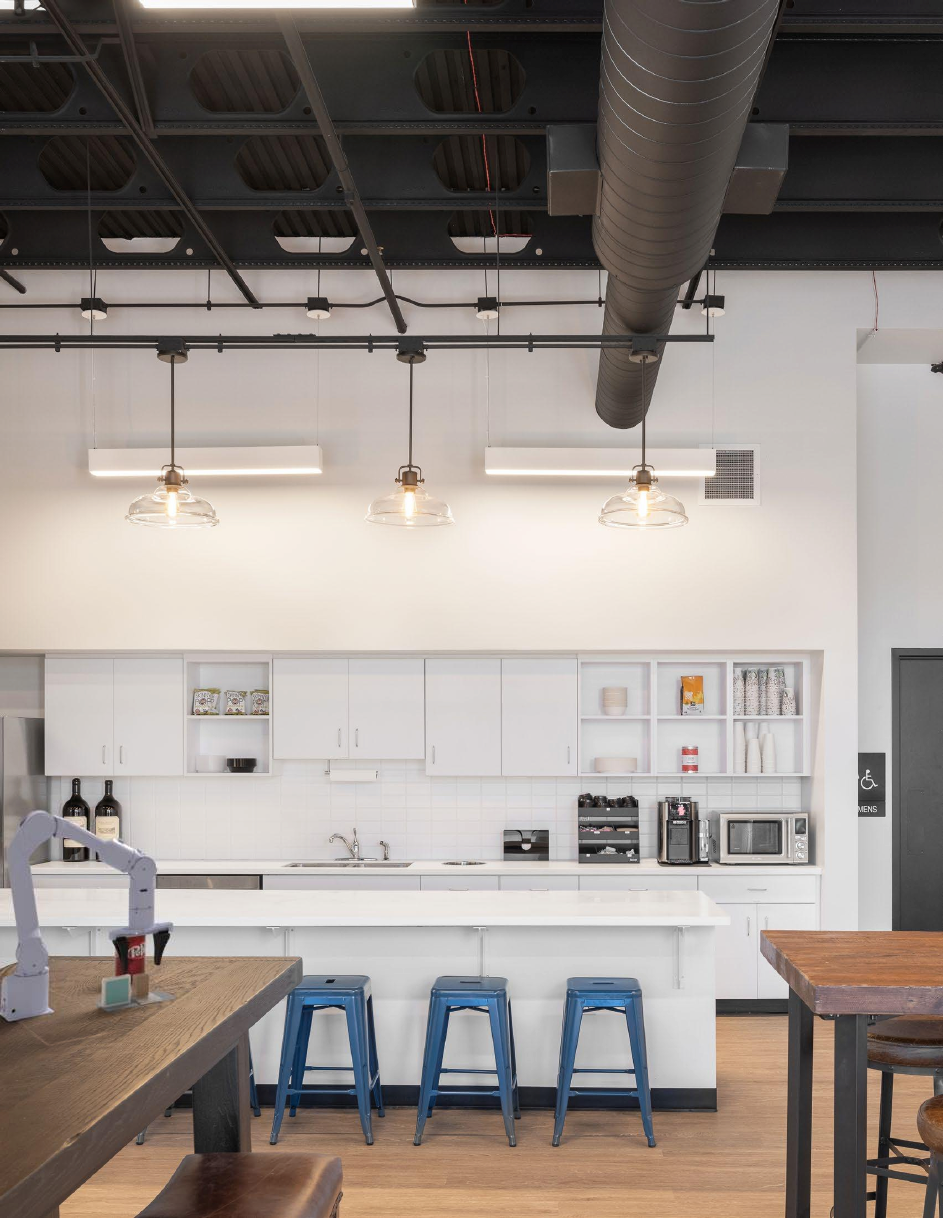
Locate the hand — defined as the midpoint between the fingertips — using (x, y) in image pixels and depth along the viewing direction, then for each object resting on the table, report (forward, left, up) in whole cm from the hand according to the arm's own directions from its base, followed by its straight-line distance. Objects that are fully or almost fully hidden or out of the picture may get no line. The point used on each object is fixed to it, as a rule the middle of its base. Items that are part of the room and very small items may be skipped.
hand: (141, 967), depth 237 cm
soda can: (+4, +19, -7) cm, 20 cm away
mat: (-2, -2, -7) cm, 8 cm away
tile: (-7, -2, -7) cm, 10 cm away
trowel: (0, -2, -7) cm, 7 cm away
